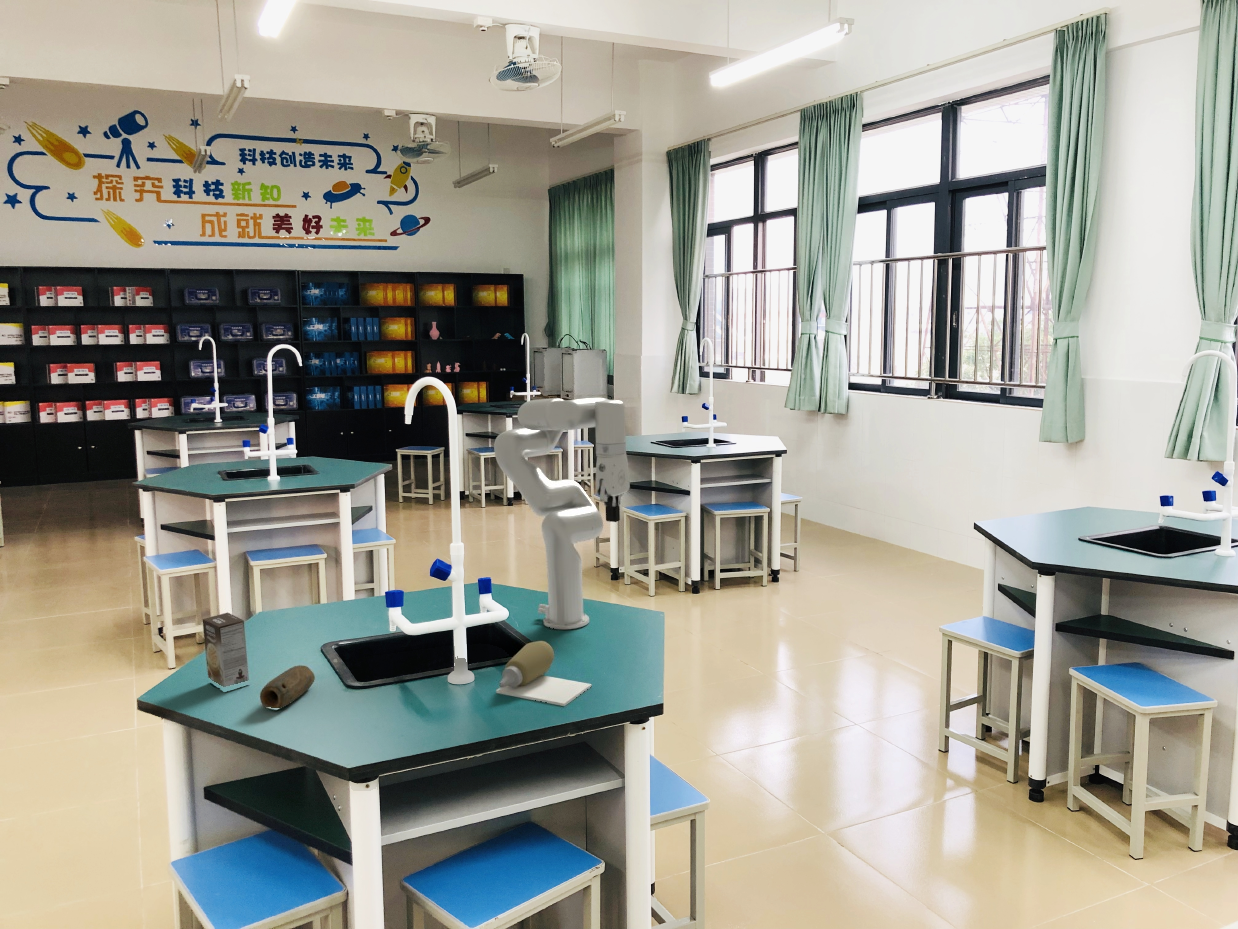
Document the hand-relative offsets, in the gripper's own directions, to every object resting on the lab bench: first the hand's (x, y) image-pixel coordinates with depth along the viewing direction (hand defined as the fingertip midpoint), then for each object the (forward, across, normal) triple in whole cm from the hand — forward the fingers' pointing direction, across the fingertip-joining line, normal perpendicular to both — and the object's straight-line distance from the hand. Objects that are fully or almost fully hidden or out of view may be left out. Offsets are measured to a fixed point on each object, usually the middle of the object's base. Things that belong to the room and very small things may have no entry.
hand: (612, 520), depth 240 cm
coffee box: (+32, -63, +70) cm, 99 cm away
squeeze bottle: (+27, -25, +6) cm, 37 cm away
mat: (+32, -35, 0) cm, 47 cm away
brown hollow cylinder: (+32, -64, +49) cm, 87 cm away
